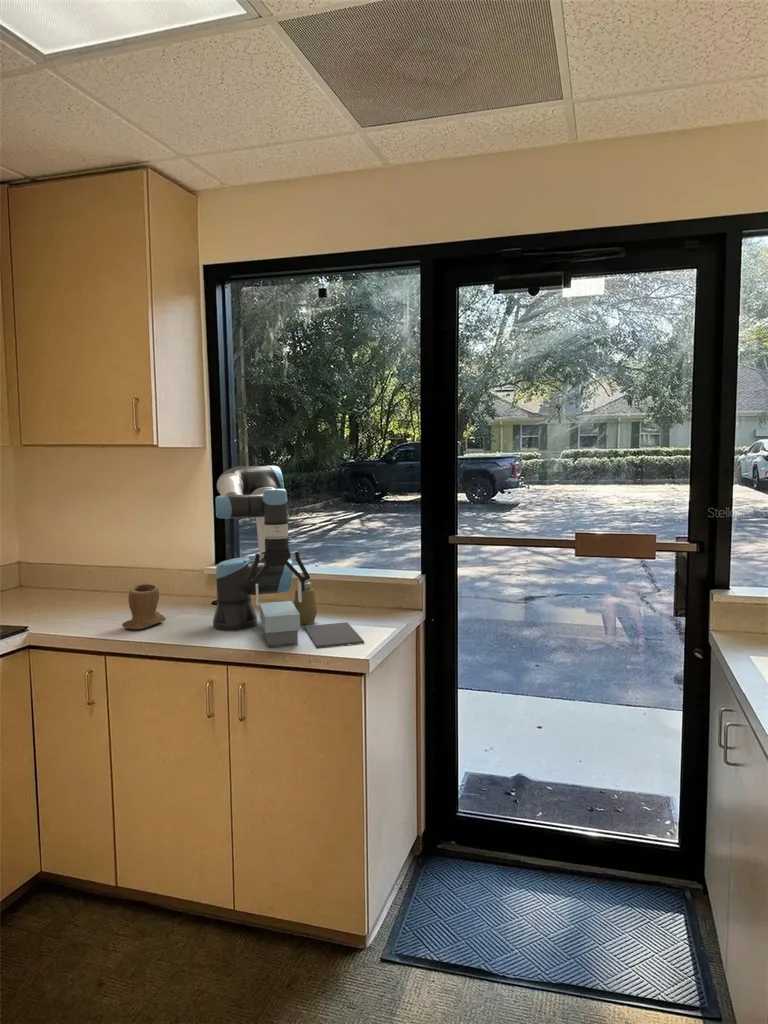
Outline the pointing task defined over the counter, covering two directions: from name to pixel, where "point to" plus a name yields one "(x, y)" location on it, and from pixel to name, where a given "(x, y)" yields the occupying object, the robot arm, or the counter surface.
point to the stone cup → (143, 607)
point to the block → (279, 616)
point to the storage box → (281, 638)
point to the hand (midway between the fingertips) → (278, 603)
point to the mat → (333, 635)
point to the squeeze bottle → (306, 604)
